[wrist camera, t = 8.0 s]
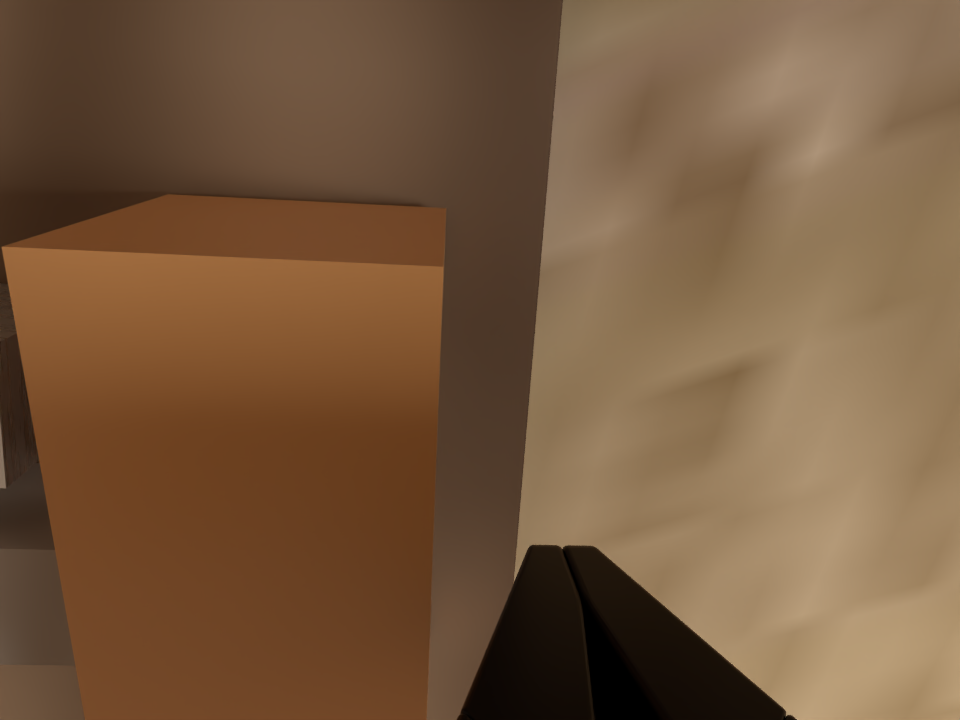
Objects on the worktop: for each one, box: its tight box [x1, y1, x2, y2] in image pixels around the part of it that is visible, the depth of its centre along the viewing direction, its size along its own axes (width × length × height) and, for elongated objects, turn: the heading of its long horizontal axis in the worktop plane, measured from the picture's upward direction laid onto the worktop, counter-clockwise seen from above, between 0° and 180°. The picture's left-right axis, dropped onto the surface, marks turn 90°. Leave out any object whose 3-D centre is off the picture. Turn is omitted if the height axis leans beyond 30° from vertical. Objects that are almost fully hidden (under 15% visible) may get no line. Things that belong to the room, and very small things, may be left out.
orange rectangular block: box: [2, 194, 446, 720], centre depth 10 cm, size 4×8×4 cm, turn 177°
